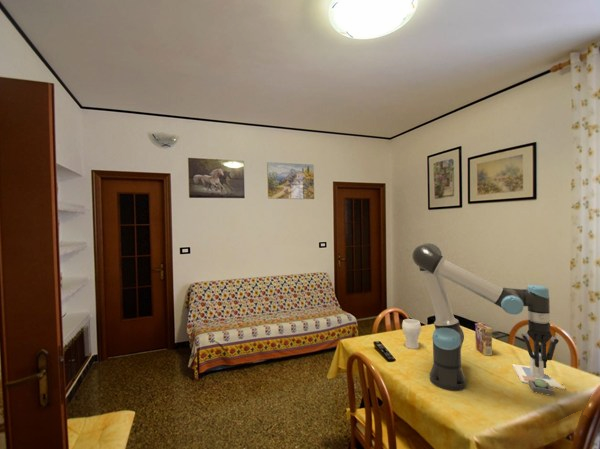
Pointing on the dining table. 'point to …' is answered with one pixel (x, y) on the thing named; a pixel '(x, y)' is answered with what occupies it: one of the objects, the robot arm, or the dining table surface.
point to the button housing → (541, 390)
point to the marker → (534, 367)
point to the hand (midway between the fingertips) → (540, 374)
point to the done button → (540, 383)
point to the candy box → (483, 339)
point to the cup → (411, 332)
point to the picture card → (526, 376)
